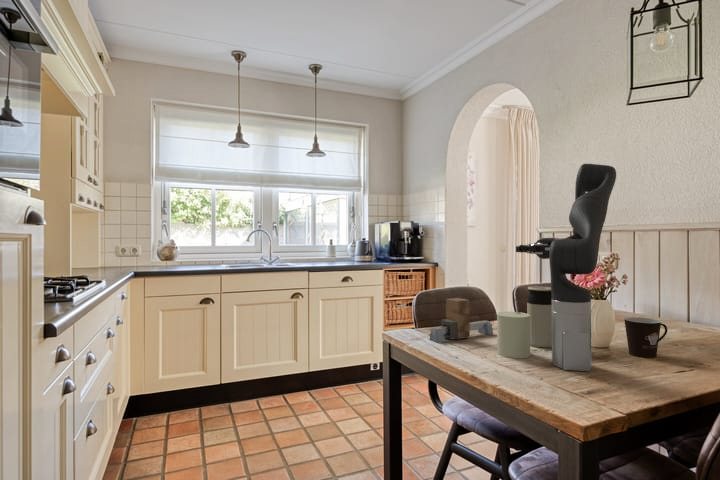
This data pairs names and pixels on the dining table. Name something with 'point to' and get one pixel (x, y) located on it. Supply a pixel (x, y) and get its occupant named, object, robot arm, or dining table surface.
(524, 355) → the can
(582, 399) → the dining table surface
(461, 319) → the wooden rectangular block
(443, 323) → the dark grey block
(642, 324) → the coffee mug
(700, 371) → the dining table surface
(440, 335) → the grey angular blocks
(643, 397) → the dining table surface
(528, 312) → the travel mug
